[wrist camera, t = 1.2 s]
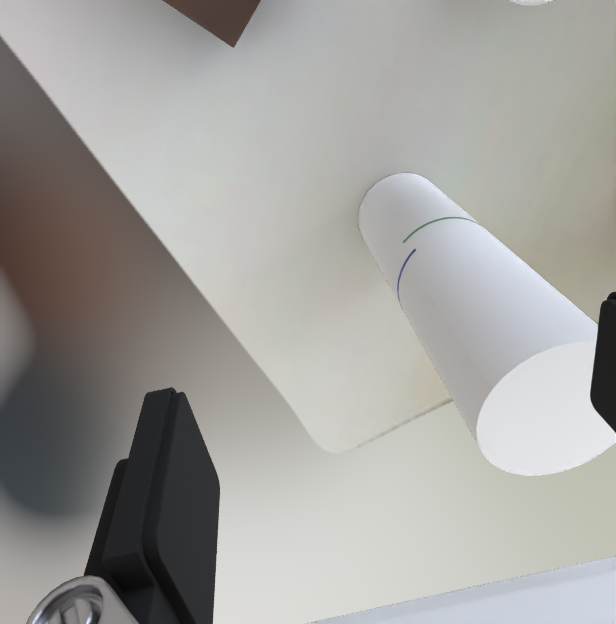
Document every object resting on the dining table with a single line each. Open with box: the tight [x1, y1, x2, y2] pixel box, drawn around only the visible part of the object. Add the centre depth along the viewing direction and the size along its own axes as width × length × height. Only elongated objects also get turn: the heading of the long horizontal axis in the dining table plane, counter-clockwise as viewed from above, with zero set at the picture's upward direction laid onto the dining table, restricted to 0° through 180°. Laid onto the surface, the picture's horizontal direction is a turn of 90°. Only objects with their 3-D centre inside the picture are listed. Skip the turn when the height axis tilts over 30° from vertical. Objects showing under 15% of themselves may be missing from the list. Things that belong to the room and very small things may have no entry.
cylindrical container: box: [358, 173, 616, 476], centre depth 32 cm, size 7×7×25 cm
